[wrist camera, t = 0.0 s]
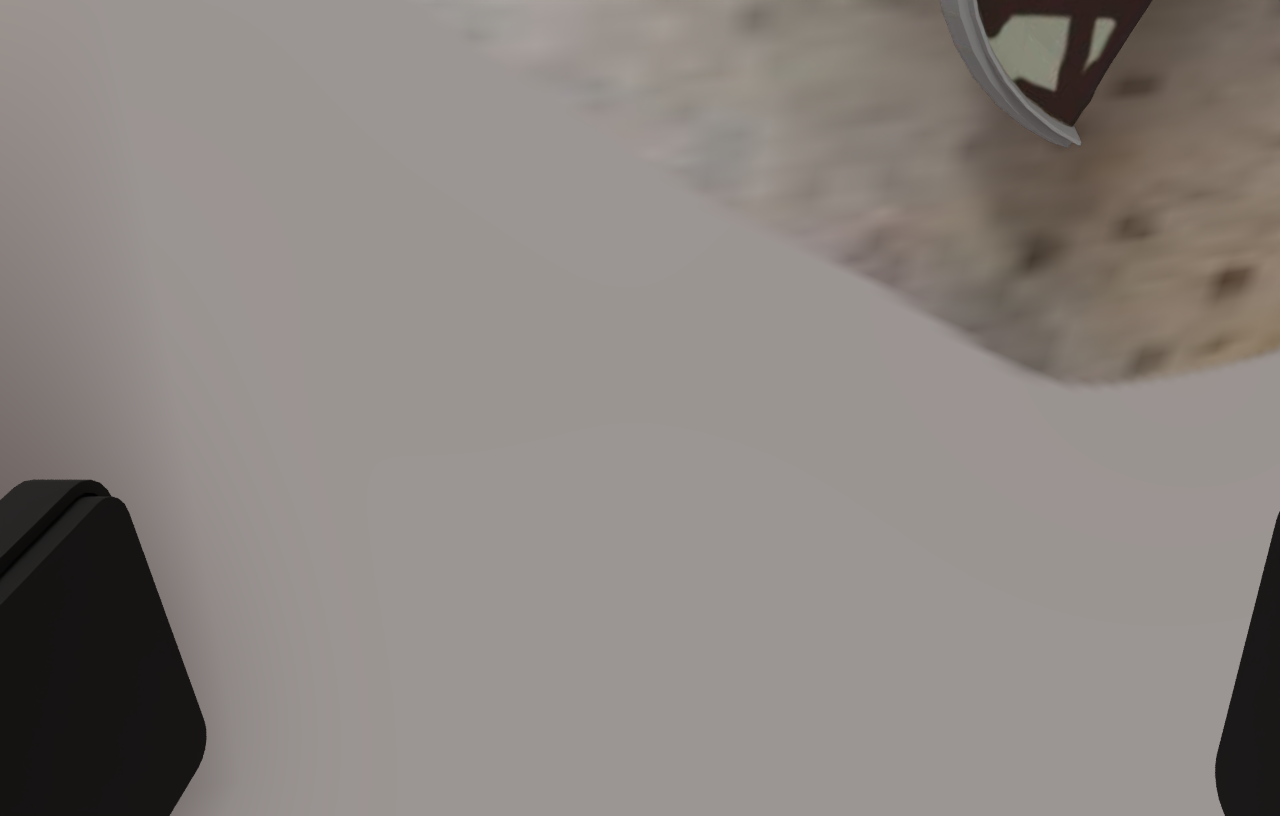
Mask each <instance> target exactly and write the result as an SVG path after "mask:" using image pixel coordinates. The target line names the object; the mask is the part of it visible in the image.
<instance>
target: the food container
mask: <svg viewBox="0 0 1280 816" xmlns="http://www.w3.org/2000/svg"><path fill="white" fill-rule="evenodd" d="M940 2H941V7H942V12H943V15H944V17H945V20H946V23H947V25H948V28H949V31H950V33H951V36H952V39H953V41H954V44H955V47H956V48H957V50H958V52H959V54H960V55H961V57H962V59H963V60H964V62H965V64H966V65H967V67H968V69H969V71H970V72H971V74H972V76H973V77H974V79H975V80H976V81H977V82H978V83H979V85H980V86H981V87H982V88H983V89H984V90H985V92H986V93H987V94H988V95H989V96H990V98H991V99H992V100H993V101H994V102H995V103H996V105H998V106H999V107H1000V108H1001V109H1002V110H1004V111H1005V112H1006V113H1007V114H1009V115H1010V116H1011V117H1012V118H1013V119H1015V120H1016V121H1017V122H1018V123H1020V124H1021V125H1022V126H1023V127H1025V128H1026V129H1028V130H1030V131H1032V132H1033V133H1035V134H1037V135H1039V136H1041V137H1042V138H1044V139H1046V140H1048V141H1049V142H1051V143H1054V144H1057V145H1060V146H1063V147H1066V148H1069V146H1070V144H1071V143H1072V142H1073V143H1075V144H1077V145H1079V146H1080V145H1081V141H1080V138H1079V136H1078V134H1077V131H1076V129H1075V127H1074V123H1075V122H1076V121H1077V119H1078V118H1079V116H1080V114H1081V113H1082V111H1083V110H1084V109H1085V107H1086V106H1087V105H1088V104H1089V102H1090V101H1091V99H1092V97H1093V94H1094V92H1095V90H1096V88H1097V86H1098V84H1099V83H1100V81H1101V79H1102V78H1103V76H1104V74H1105V73H1106V71H1107V69H1108V68H1109V66H1110V64H1111V63H1112V61H1113V60H1114V58H1115V57H1116V55H1117V54H1118V52H1119V50H1120V49H1121V47H1122V46H1123V44H1124V43H1125V41H1126V40H1127V38H1128V36H1129V35H1130V33H1131V32H1132V30H1133V29H1134V27H1135V26H1136V24H1137V23H1138V21H1139V20H1140V18H1141V17H1142V15H1143V14H1144V12H1145V11H1146V9H1147V8H1148V6H1149V5H1150V3H1151V2H1152V0H940Z"/></svg>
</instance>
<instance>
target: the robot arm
mask: <svg viewBox="0 0 1280 816" xmlns="http://www.w3.org/2000/svg"><path fill="white" fill-rule="evenodd" d="M205 746H206V726H205V721H204V718H203V716H202V713H201V710H200V708H199V705H198V702H197V699H196V696H195V694H194V691H193V688H192V685H191V682H190V680H189V677H188V674H187V672H186V669H185V666H184V663H183V661H182V658H181V655H180V652H179V649H178V646H177V644H176V641H175V638H174V635H173V633H172V630H171V627H170V624H169V622H168V619H167V616H166V614H165V611H164V608H163V605H162V602H161V599H160V597H159V594H158V591H157V589H156V586H155V583H154V581H153V577H152V575H151V572H150V569H149V566H148V564H147V561H146V558H145V555H144V552H143V550H142V547H141V544H140V542H139V539H138V536H137V533H136V531H135V528H134V525H133V522H132V520H131V517H130V514H129V512H128V510H127V508H126V506H125V504H124V503H123V502H122V501H121V500H120V499H118V498H115V497H112V496H111V495H110V493H109V492H108V490H107V489H106V488H105V487H104V486H103V485H102V484H101V483H99V482H96V481H93V480H30V481H24V482H22V483H21V484H19V485H18V486H16V487H14V488H13V489H12V490H11V491H10V492H9V493H8V494H7V495H6V496H4V497H3V498H2V499H1V500H0V816H170V814H171V812H172V811H173V809H174V807H175V806H176V804H177V802H178V801H179V799H180V797H181V796H182V794H183V792H184V791H185V789H186V787H187V786H188V784H189V782H190V781H191V779H192V777H193V776H194V774H195V772H196V771H197V769H198V767H199V765H200V763H201V761H202V758H203V755H204V751H205ZM1215 778H1216V787H1217V792H1218V797H1219V801H1220V804H1221V807H1222V809H1223V812H1224V814H1225V816H1280V512H1279V514H1278V517H1277V520H1276V524H1275V528H1274V532H1273V535H1272V539H1271V543H1270V547H1269V552H1268V556H1267V559H1266V563H1265V567H1264V571H1263V575H1262V579H1261V583H1260V587H1259V591H1258V595H1257V599H1256V603H1255V607H1254V611H1253V614H1252V618H1251V622H1250V626H1249V630H1248V634H1247V638H1246V642H1245V646H1244V650H1243V654H1242V658H1241V662H1240V666H1239V670H1238V674H1237V678H1236V681H1235V686H1234V690H1233V694H1232V698H1231V701H1230V705H1229V709H1228V713H1227V717H1226V721H1225V725H1224V729H1223V733H1222V737H1221V741H1220V745H1219V749H1218V752H1217V757H1216V765H1215Z"/></svg>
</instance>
